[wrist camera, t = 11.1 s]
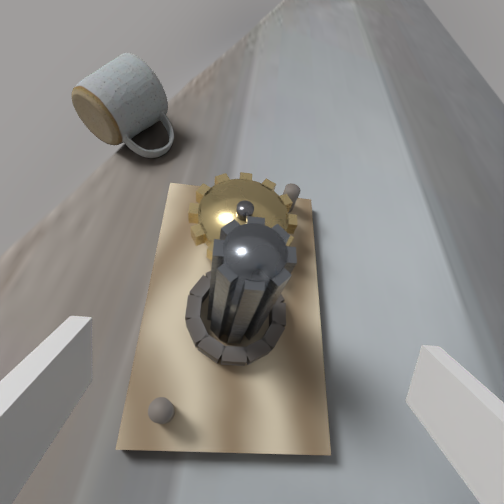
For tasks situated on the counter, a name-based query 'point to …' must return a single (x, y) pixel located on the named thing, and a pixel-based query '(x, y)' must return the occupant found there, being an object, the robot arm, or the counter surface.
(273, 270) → the pinion
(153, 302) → the board
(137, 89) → the ceramic mug
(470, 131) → the counter surface
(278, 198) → the gear
